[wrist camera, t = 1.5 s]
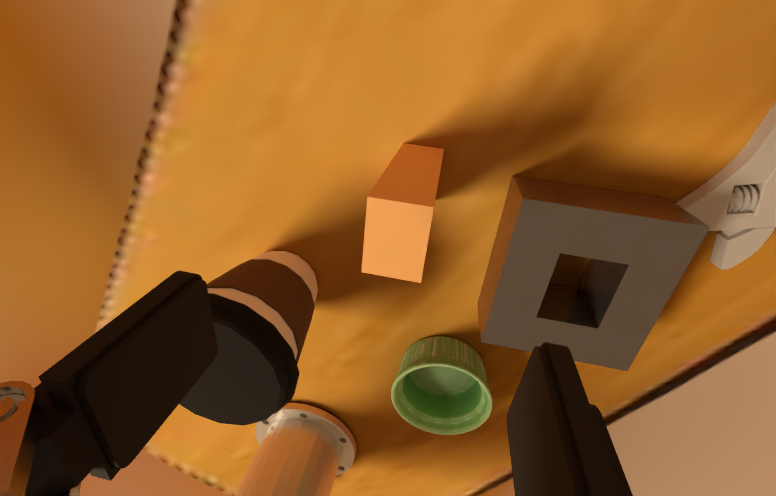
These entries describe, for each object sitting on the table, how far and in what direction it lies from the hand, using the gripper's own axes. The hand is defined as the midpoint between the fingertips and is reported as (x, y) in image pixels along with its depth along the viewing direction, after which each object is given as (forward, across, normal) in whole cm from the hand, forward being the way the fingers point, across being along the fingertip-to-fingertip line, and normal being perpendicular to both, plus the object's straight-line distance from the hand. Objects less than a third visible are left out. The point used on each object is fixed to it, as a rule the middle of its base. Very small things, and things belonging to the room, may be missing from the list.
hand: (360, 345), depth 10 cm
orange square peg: (+19, 0, +1) cm, 19 cm away
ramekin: (+20, -5, +20) cm, 28 cm away
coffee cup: (+19, +11, +13) cm, 26 cm away
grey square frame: (+19, -12, +6) cm, 23 cm away
